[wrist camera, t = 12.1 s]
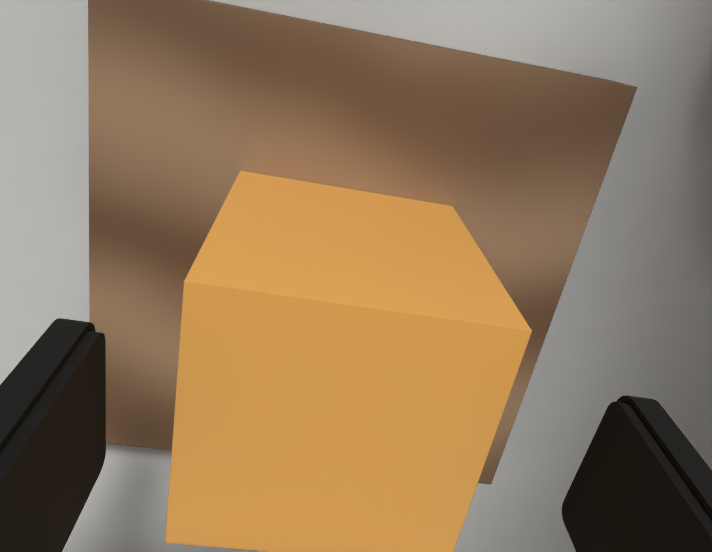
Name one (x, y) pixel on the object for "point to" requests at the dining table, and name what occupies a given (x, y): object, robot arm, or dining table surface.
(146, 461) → the dining table surface
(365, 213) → the plain orange cube
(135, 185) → the walnut board
